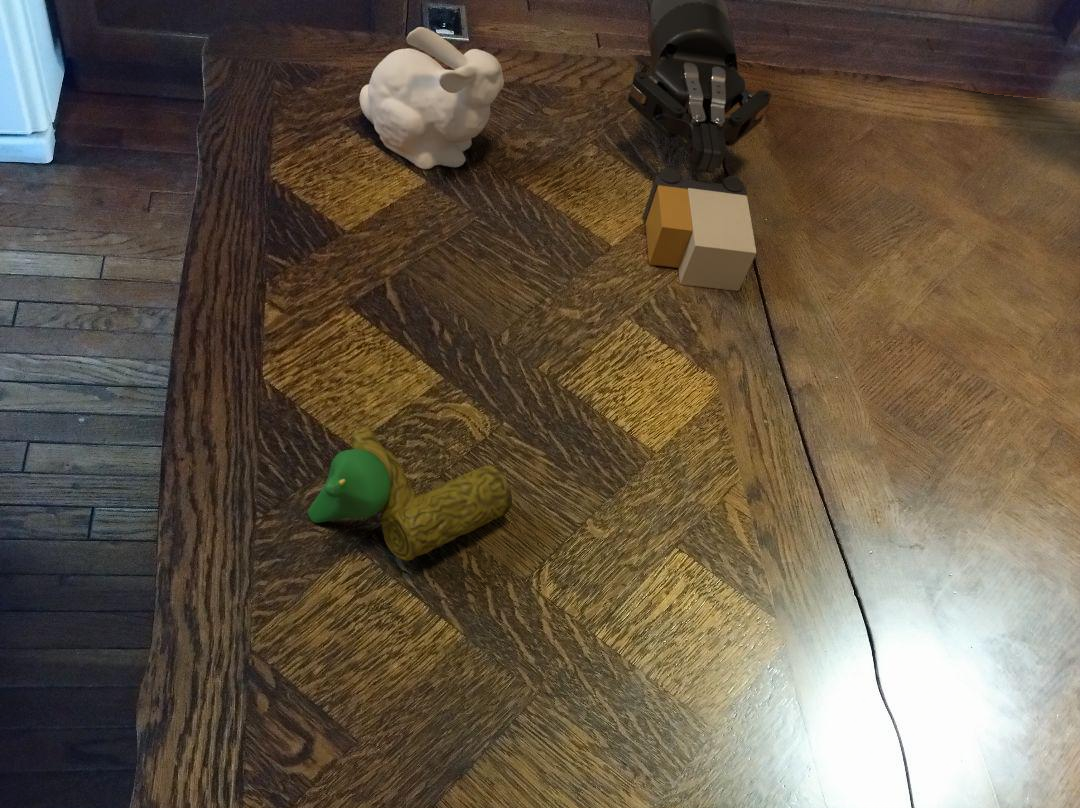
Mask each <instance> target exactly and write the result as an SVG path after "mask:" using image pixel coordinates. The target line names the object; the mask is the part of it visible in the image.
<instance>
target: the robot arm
mask: <svg viewBox="0 0 1080 808" xmlns="http://www.w3.org/2000/svg"><path fill="white" fill-rule="evenodd" d="M646 3H647V13H648V26H647V27H648V28H647V31H648V32H647V33H648V34H647V44H648V47H649V52H650V60H651V69H652V71H651V74H652V75H650V76H649V75H647V74H646V73H645V72H641V71H638V72H635V73H634V75H633V79H632V83H631V86H630V90H629V93H628V98H627V102H628V104H629V105H631V107H633V108H634V109H635V110H636V111H638V113H639V114H641V115H642V116H643V117H644V118H645V119H646V120H648V122H649V123H651V125H653V126H654V127H655V128H656V129H657V130H658V131H660V132H661V133H662V134H663V135H664V136H665V137H667V138H670V139H675V138H676V137H677V136H680V137H681V138H683V142H684V143H685V144H686V147H687V148H686V149H687V156H688V161H689V162H690V163H691V165H695V170H696V172H699V173H707V174H708V173H709V174H715V173H716V169H720V168H721V166H722V163H723V161H724V159H725V156H726V153H727V146H728V147H732V146H735V145H736V144H737V143H739V141H740V140H741V139H742V138H744V137H745V136H746V135H747V134H749V132H751V131H752V130H753V129H754V128H756V127H757V126H758V125H759V124H760V123H761V122H762V120H763V118H764V116H765V113H766V111H767V108H768V107H769V106H768V105H769V103H770V100H771V98H772V95H771V92H769V91H767V90H763V89H761V90H759V91H757V92H756V93H753V92H752V91H750V90H748V89H747V88H746V81H745V79H744V78H743V76H741V74H740V73H739V71H738V55H737V51H736V44H735V39H734V34H733V30H732V25H731V19H730V14H729V10H728V7H727V4H726V2H725V0H646ZM738 104H739V107H738V108H736V109H735V110H734V111H733V112H732V113H731V114H730V116H729V117H726V114H727V113H729V112H730V111H731V110H732V109H733V108H734V107H735V106H736V105H738ZM664 111H666V112H667V113H668V115H667V117H666V116H665V115H664Z"/></svg>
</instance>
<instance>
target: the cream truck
mask: <svg viewBox="0 0 1080 808" xmlns="http://www.w3.org/2000/svg"><path fill="white" fill-rule="evenodd" d="M643 222H644V224H645V234H646V245H647V257H648V258H647V259H648V265H649V266H650V265H651V266H659V267H667V268H674V269H675V268H676V269H678V280H679V285H681V286H690V287H698V288H699V287H700V288H709V289H715V290H716V289H717V290H725V291H734V292H739V291H740V289H741V287H742V285H743V283H744V281H745V278H746V276H747V274H748V272H749V270H750V268H751V266H752V263H753V262H754V259H755V257H756V255H757V246H756V241H755V234H754V229H753V224H752V216H751V211H750V205H749V199H748V191H747V187H745V186H744V182H743V181H742V179H740V178H738V177H737V176H733V175H730V176H729V175H728V176H726V177H724V178H723V180H722V183H717V182H709V181H701V180H694V179H688V178H687V179H685V178H681V174H680V172H679V171H677V170H676V169H675V168H672V167H664V168H662V169H661V170H660V171H659V173H658V175H655V177H654V179H653V183H652V187H651V189H650V192H649V196H648V198H647V202H646V204H645V208H644V211H643Z"/></svg>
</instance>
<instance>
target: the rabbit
mask: <svg viewBox="0 0 1080 808" xmlns="http://www.w3.org/2000/svg"><path fill="white" fill-rule="evenodd" d="M406 43H407V45H409V46H412V47H414V48H417V49H420V50H421V51H419V50H417V49H414V48H399V49H396V50H393V51H391V52H390V53H389V54H388V55H386V56H385V57H384V58H383V59H382V60H381V61H380V62H379V63H378V64H377V66H376V67H375V68H374V69H373V71H372V74H371V76H370V78H369V82H368V84H365V85H364V86H363V87H361V90H360V93H359V97H358V99H359V106H360V110H361V111H362V113H363V115H364V116H365V118H366V119H367V120H368V121H369V122H370V123H371V124H372V125H373V127H374V130H375V132H376V133H377V134H378V135H379V139H380V140H381V142H382V144H383V145H384V146H385V147H386V148H387V149H389V150H390V151H392V152H393V153H395V154H397V155H399V156H400V157H403V158H404V159H406V160H408V161H409V162H411V163H412V164H413V165H415V166H416V167H417V168H419V169H421V170H430V169H432V168H434V167H435V166H444V167H449V168H459V167H461V166H463V165H464V164H465V163H466V161H467V159H466V156H465V154H464V152H465V151H467V150H468V149H470V148H471V146H472V144H473V143H472V142H473V141H472V139H473V138H475V137H477V136H478V135H479V134H480V133H481V132H482V131H483V129H484V128H485V127H486V125H487V124H488V122H489V121H490V117H491V104H492V103H494V102H495V101H496V98H497V97H498V95H499V93H500V92H501V91H502V90H503V88H504V86H505V85H504V84H505V80H504V75H503V69H502V65H501V63H500V62H499V60H498V59H497V57H495V56H494V55H493V54H491V53H489V52H487V51H485V50H481V49H478V48H472V49H469V50H467V51H466V52H465V53H464V54H463V53H462V52H461V51H459V50H458V49H457V48H456V47H455V46H454V45H453V44H451V43H450V42H449V41H448V40H446V38H445V39H444V38H443V36H440V35H439V34H438V33H436V32H434V30H431V29H429V28H426V27H423V26H419V27H416V28H415V29H413V30H412V31H410V32H409V33H408V35H407V37H406ZM422 51H423V52H422ZM426 53H427V54H426ZM428 54H429V55H428ZM431 56H432V57H431ZM434 58H435V59H437V60H438V61H440V62H441V63H443V64H444V65H446V66H448V67H449V68H452V69H446V68H444V67H443V66H442V65H441V64H440V63H439V62H438V61H436V60H435V59H434Z"/></svg>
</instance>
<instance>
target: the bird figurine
mask: <svg viewBox="0 0 1080 808" xmlns="http://www.w3.org/2000/svg"><path fill="white" fill-rule="evenodd" d="M349 440H350V441H349V443H350V445H351V447H352V448H351V449H346V450H343V451H340V452H339V453H337V454H336V455H335V456H334V457H333V458H332V462H331V464H330V467H329V472H328V476H327V479H326V481H325V484H324V485H323V487H322V488H321V490H320V492H319V493H318V495H317V496H316V497H315V499H314V501H313V502H312V503H311V504H310V507H309V508H308V511H307V516H308V518H309V519H310V520H311V522H312V523H315V524H319V523H325V522H326V523H327V522H330V521H335V520H336V521H337V520H341V519H347V518H348V519H350V518H355V519H368V518H370V517H373V516H374V515H376V514H377V513H379V512H380V511H381V510H382V509H383V511H382V514H381V519H380V523H381V531H382V534H383V538H384V541H385V544H386V546H387V548H388V549H389V551H390V552H391V553H392V554H393V555H394V556H395V557H396V558H398V559H399V560H402V561H405V562H408V561H412V560H414V559H415V558H416V557H418V556H423V555H425V554H427V553H429V552H432V551H433V550H434V549H436V548H440V547H442V546H443V545H445V544H447V543H449V542H452V541H454V540H455V539H457V538H458V537H460V536H464V535H467V534H469V533H471V532H473V531H475V530H477V529H478V528H481V527H483V526H485V525H486V524H489V523H491V522H492V521H493V520H494V521H495V520H496V519H497V518H501V517H503V516H505V515H507V514H508V513H509V512H510V510H511V508H512V505H513V495H512V489H511V487H510V483H509V482H508V481H507V479H506V478H505V476H504V474H503V473H502V472H500V470H499V469H497V468H496V467H494V466H492V465H483V466H480V467H478V468H476V469H473V470H472V471H469V472H466V473H464V474H462V475H460V476H458V477H456V478H453V479H451V480H449V481H446V482H444V483H443V484H441V485H440V486H436V487H434V488H432V489H429V490H428V491H426V492H423V493H417V492H416V491H415V490H414V488H413V486H412V484H411V482H410V481H409V480H408V478H407V476H406V473H405V471H404V469H403V468H402V466H401V463H400V462H399V460H398V459H397V458H396V457H395V456H394V455H393V454H392V453H391V452H390V451H389V450H388V449H387V448H386V447H384V446H383V445H382V444H381V442H380V441H379V440H378V438H377V436H376V434H375V433H374V430H373V429H372V427H370V426H363V427H361V428H358V429H357V430H356V431H354V432H352V433H351V435H350V439H349Z"/></svg>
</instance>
